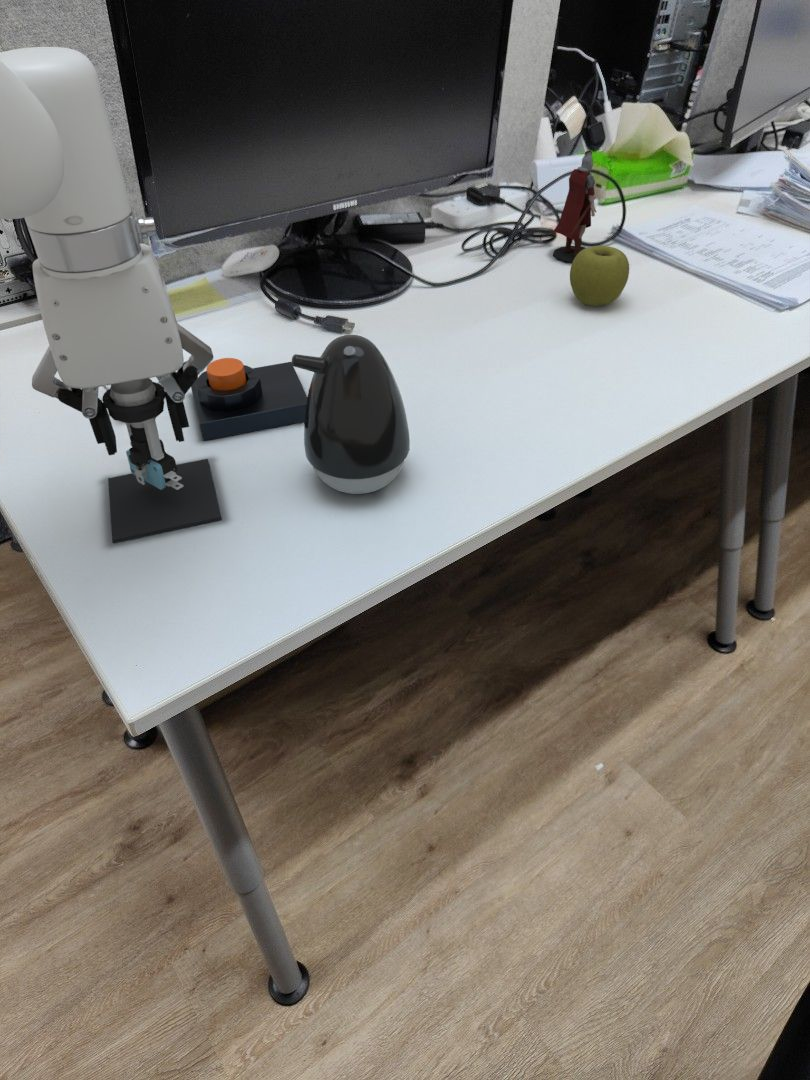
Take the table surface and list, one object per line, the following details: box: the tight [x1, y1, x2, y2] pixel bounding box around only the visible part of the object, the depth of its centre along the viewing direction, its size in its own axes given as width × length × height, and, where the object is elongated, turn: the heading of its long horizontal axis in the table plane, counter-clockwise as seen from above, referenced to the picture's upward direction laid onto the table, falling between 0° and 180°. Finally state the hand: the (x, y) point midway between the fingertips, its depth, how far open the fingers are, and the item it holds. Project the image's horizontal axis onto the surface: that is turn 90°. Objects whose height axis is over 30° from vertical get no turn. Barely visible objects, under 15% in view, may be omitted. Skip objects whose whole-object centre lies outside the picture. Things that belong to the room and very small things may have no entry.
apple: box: [569, 245, 630, 307], centre depth 104 cm, size 8×8×7 cm
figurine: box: [552, 150, 597, 264], centre depth 114 cm, size 7×7×15 cm
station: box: [190, 361, 308, 441], centre depth 86 cm, size 12×10×4 cm
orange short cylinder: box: [205, 357, 246, 391], centre depth 84 cm, size 4×4×2 cm
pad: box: [107, 458, 223, 544], centre depth 75 cm, size 10×10×1 cm
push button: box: [101, 378, 183, 490], centre depth 70 cm, size 7×5×10 cm
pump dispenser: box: [291, 334, 411, 495], centre depth 72 cm, size 10×10×15 cm
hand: (145, 438), depth 70 cm, fingers closed on push button, 5 cm apart
